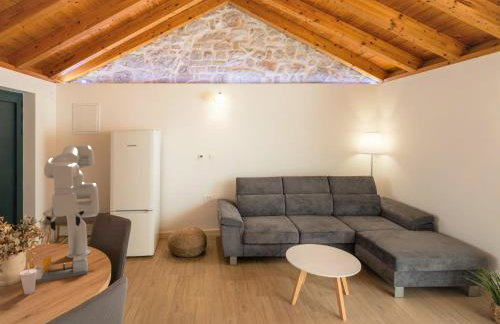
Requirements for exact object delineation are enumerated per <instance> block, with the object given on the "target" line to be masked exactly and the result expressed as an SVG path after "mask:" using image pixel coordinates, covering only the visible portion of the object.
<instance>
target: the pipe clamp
mask: <svg viewBox="0 0 500 324" xmlns="http://www.w3.org/2000/svg"><path fill="white" fill-rule="evenodd" d="M51 258H52V257H51V256H45V257H43V260H42V263H40V264H38V266H42V265H43V273H45V272H48V270H47V269H48V265H53V264H52V259H51ZM34 267H35V264H30V263H29V269H33V268H34ZM25 270H28V264H26V265H25Z"/></svg>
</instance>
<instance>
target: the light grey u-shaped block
mask: <svg viewBox="0 0 500 324" xmlns="http://www.w3.org/2000/svg"><path fill="white" fill-rule="evenodd" d="M33 269H36V270H37V273H36V280H37V279H41V278H42V276H43V265H42V266H39V265H38V264H34V268H33Z"/></svg>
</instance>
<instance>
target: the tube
mask: <svg viewBox="0 0 500 324" xmlns="http://www.w3.org/2000/svg"><path fill="white" fill-rule="evenodd" d="M69 269H73V261H69V262H68V261H67V262H62V263H56V264H52V265H48V269H47V270H48V271H47V272H48V273H51V272H57V271H64V270H69Z"/></svg>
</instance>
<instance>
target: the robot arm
mask: <svg viewBox="0 0 500 324" xmlns="http://www.w3.org/2000/svg"><path fill="white" fill-rule="evenodd" d="M95 159H96V158H95V152H94V150H93V147H91V145H88V144H72V145H71V144H70V145H69V144H68V145H67V146H65V147H64V148H63V150H62V152H61V153H59V154H58V155H56V156H55V155H54V156H52V157H50V158H48V159H47V161H46V162H45V164H44V168H43V172H44V173H43V174H44V176H45V177H46V178H47V179H51V180H53V189H54V190H53V191H54V194H52V195H51V204H50V208H49V209H47V210H45V211H43V212H42V215H43V217H44V218H45V219H46V220H47V221H49V222H50V229H52V230H53V231H56V229H57V226H56V221H55V220H56V219H57V218H60V217H66V222H67V235H68V237H67V239H68V241H67V242H68V252H66V254H65V255H66V256H65V257H66V258H68V259H73V258H74V257H79V256H86V255H87V256H88V255H90V254H91V249H89V248H88V234H87V223H86V222H85V221H84V220H83V218H90V217H91V218H92V217H97V216H99V213H100V202H99V188H98V184H97V183H95V182H85V178H84V176H85V174H84V173H83V172H82V171H81V169H84V168H85V169H87V168H88V169H89V168H93V167H94V166H95V163H96V162H95V161H96V160H95ZM78 200H82V201H78ZM83 200H85V201H83ZM50 213H51V217H50V216H49V214H50Z"/></svg>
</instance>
